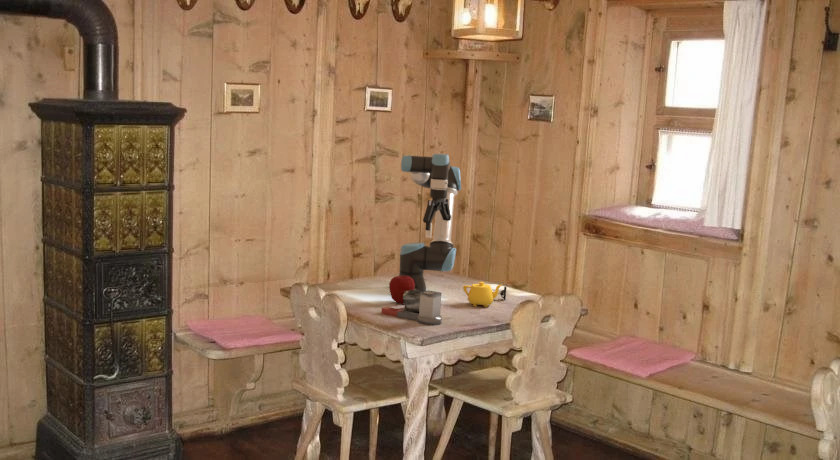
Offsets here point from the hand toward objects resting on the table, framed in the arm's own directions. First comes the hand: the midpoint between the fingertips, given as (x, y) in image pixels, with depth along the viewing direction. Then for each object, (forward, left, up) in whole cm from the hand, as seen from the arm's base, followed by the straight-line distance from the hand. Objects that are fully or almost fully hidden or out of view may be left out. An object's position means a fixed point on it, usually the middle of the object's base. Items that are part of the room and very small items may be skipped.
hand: (436, 236), depth 378 cm
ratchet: (+6, -27, -32) cm, 42 cm away
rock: (0, -14, -32) cm, 35 cm away
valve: (+14, +32, -32) cm, 48 cm away
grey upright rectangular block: (+15, -27, -29) cm, 43 cm away
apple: (-13, -6, -32) cm, 35 cm away
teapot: (+16, +17, -32) cm, 40 cm away
